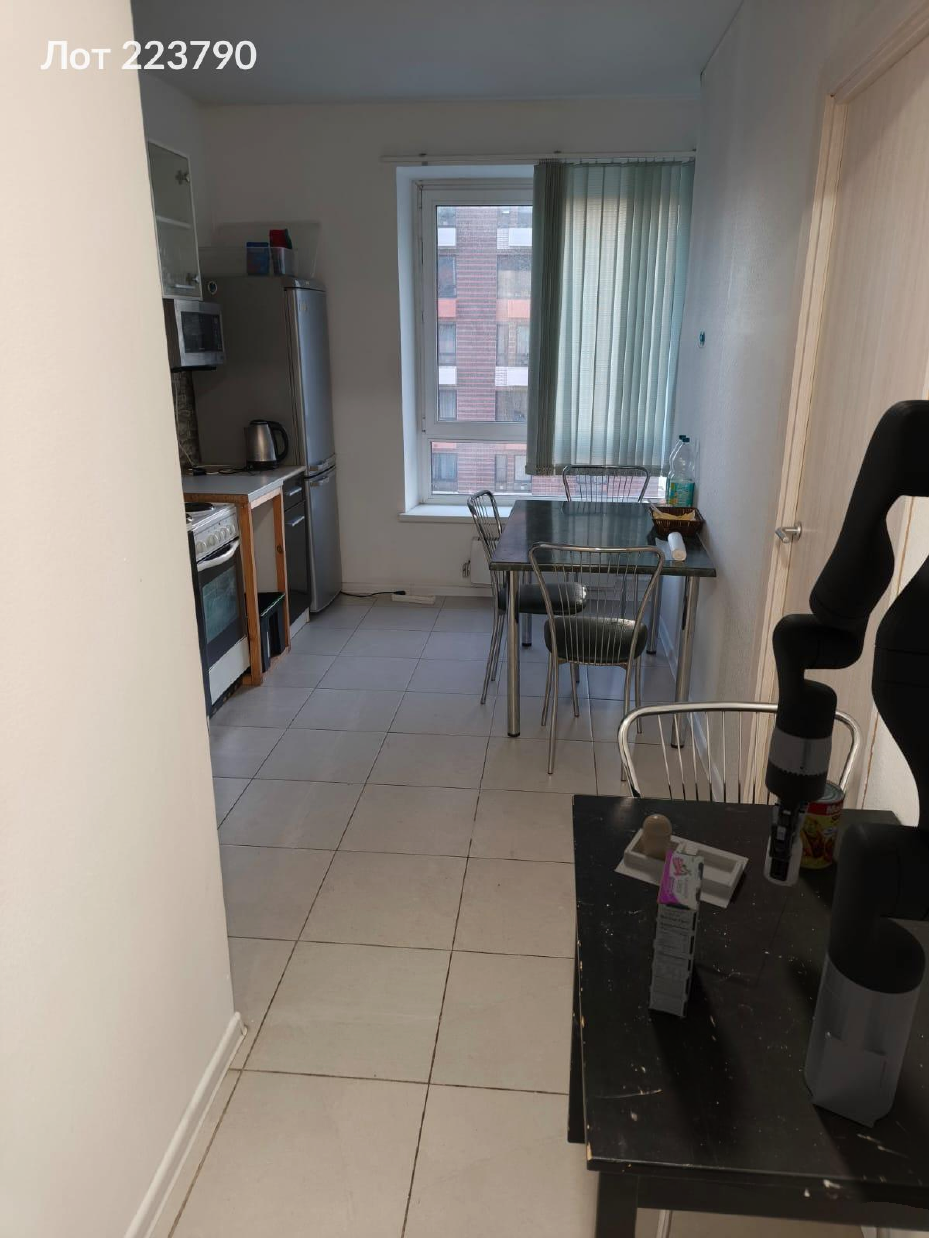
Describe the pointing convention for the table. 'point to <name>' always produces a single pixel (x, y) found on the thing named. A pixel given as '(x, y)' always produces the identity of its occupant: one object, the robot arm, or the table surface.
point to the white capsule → (793, 865)
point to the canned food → (821, 828)
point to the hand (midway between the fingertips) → (781, 868)
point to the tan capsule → (656, 837)
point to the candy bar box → (675, 933)
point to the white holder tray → (718, 864)
